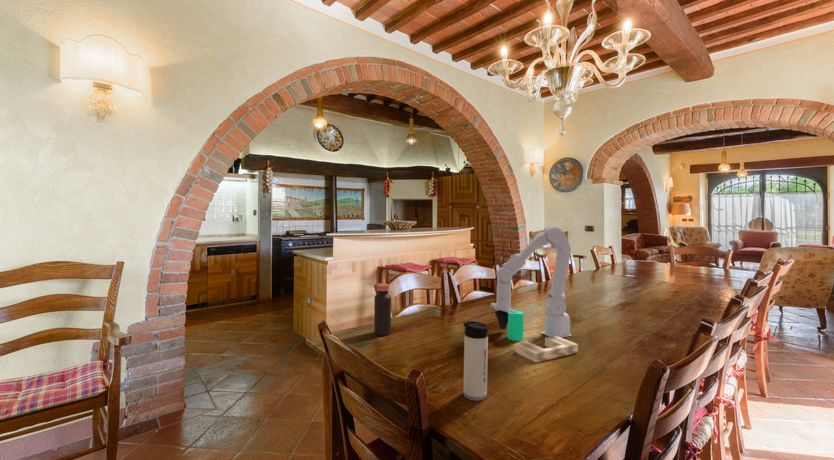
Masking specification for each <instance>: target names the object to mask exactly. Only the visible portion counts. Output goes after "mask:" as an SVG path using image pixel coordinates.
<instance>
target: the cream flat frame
mask: <svg viewBox="0 0 834 460" xmlns="http://www.w3.org/2000/svg"><path fill="white" fill-rule="evenodd" d="M544 346H545V347H546V348H542V347H540V346H538V345H536V344H533V342H531V341H530V342H529V341H521V342H517V343H514V353H516V354H519V355H520V356H522V357H525V358H526V359H528V360H530V361H532V362H534V363H539V362H543V361H548V360H552V359H555V358H556V359H557V358H560V357H565V356H568V355H574V354H578V353H579V350H578V347H579V344H578V343H576V342H573V341H570V340H568V339H565V338H564V337H563V338H561V337H558V336H551V337H549V336H547V337H544Z"/></svg>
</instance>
